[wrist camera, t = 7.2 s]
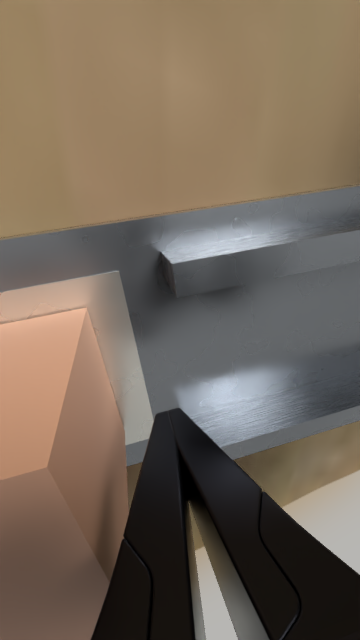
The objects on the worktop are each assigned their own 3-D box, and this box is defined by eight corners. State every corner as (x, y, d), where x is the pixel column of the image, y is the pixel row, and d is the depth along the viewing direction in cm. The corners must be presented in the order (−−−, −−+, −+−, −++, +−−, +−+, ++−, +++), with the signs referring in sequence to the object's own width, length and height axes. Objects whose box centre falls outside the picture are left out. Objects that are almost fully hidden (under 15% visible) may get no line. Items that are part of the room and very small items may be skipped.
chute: (465, 168, 11) (572, 158, 9) (402, 370, 16) (458, 403, 14) (-263, 276, 7) (-473, 320, 5) (-60, 501, 12) (-108, 585, 10)
